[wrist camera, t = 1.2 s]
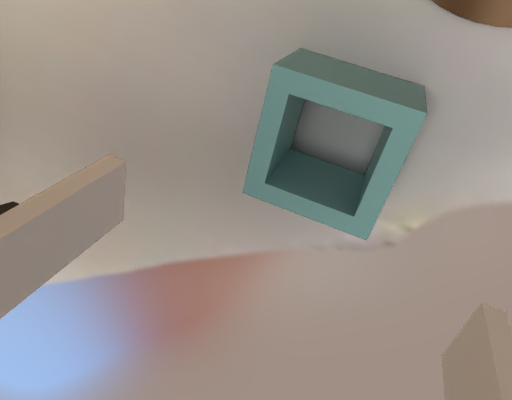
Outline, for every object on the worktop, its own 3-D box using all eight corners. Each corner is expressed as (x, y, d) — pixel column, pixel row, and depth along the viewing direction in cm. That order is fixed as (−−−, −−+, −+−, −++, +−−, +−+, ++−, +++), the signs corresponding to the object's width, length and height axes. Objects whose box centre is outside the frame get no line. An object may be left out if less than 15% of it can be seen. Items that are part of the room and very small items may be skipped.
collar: (270, 157, 30) (242, 192, 25) (300, 48, 26) (273, 64, 21) (374, 195, 28) (366, 240, 23) (424, 86, 24) (427, 113, 19)
